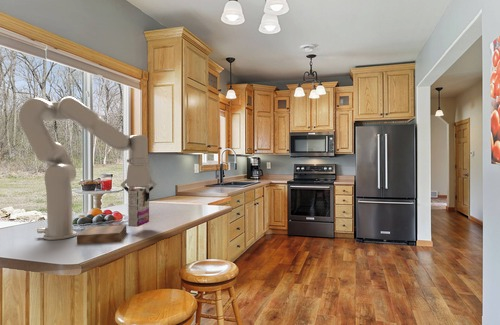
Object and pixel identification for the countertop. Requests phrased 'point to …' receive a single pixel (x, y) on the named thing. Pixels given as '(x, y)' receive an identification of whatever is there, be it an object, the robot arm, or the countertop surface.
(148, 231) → the countertop surface
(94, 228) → the walnut block
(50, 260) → the countertop surface
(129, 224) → the candy bar box
